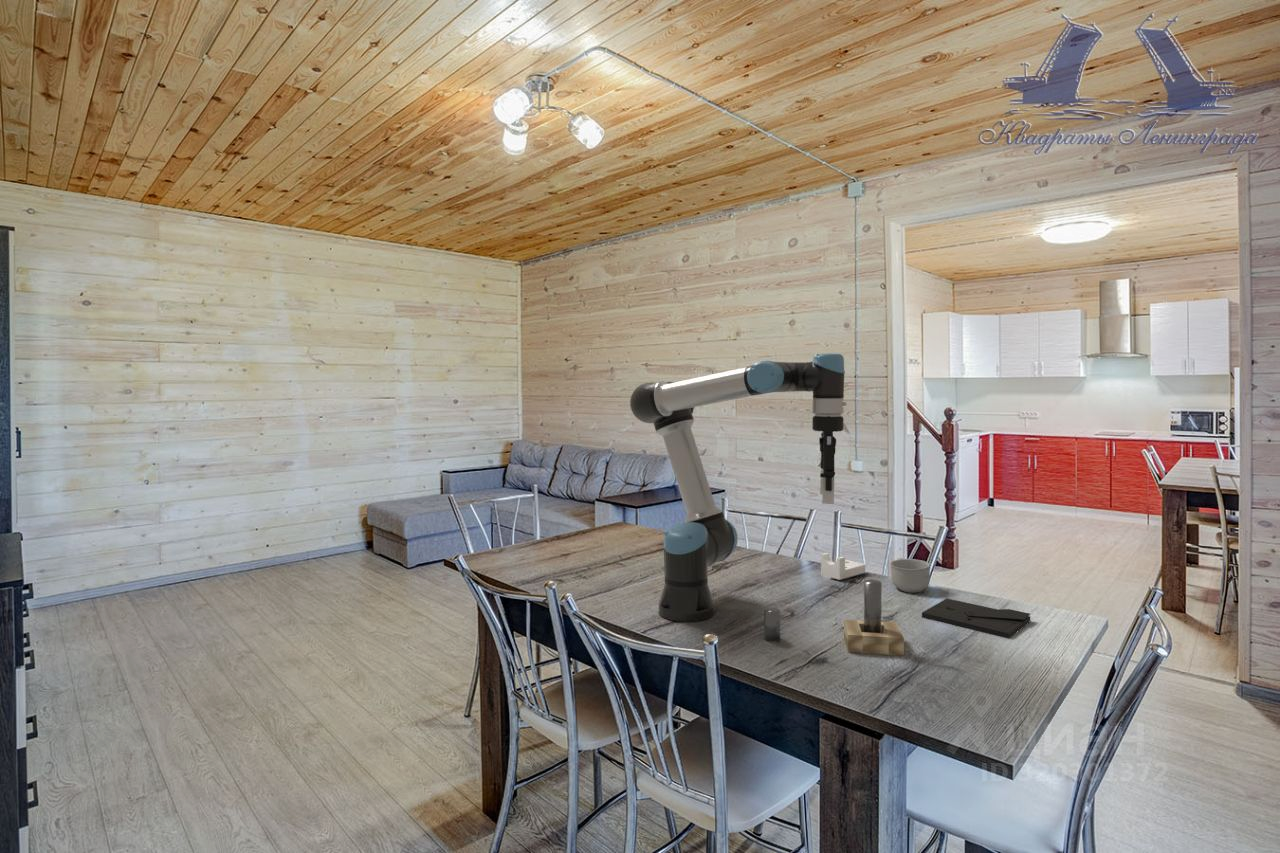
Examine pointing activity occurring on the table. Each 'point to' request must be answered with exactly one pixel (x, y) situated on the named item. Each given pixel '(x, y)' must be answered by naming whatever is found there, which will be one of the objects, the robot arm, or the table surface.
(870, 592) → the long pin
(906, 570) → the teacup
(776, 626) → the short pin
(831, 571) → the bracket
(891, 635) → the socket block
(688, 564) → the robot arm
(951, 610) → the picture frame
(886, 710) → the table surface
